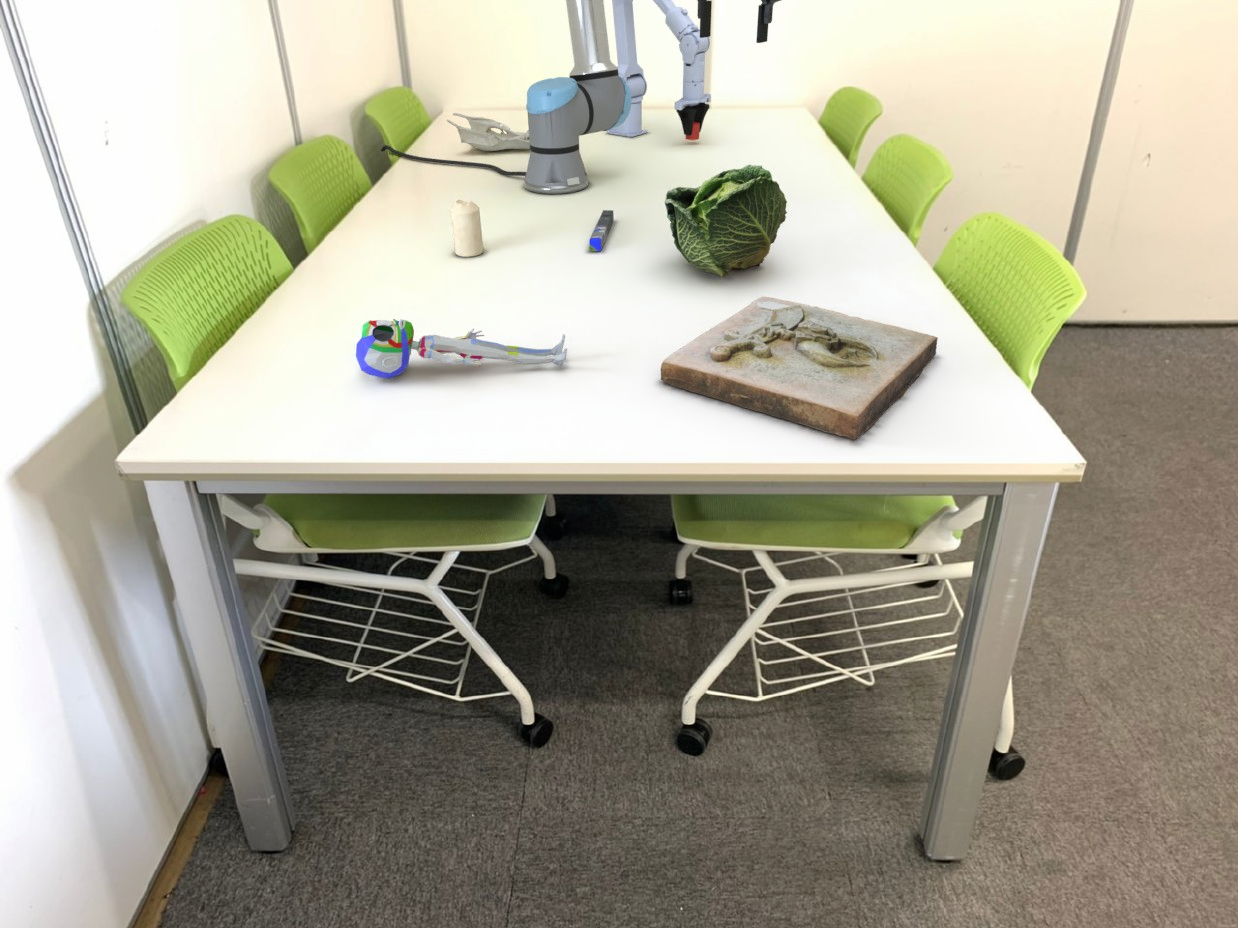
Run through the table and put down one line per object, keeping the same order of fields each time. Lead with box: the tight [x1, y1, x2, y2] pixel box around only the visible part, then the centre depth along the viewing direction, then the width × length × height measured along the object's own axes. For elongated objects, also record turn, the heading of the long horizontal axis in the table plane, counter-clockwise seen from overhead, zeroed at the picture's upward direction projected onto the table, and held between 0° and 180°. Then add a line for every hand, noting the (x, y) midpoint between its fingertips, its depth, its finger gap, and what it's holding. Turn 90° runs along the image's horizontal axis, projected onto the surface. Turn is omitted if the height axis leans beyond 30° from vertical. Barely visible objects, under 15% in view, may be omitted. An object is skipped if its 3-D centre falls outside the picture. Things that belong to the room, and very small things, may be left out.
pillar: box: [588, 209, 615, 252], centre depth 182 cm, size 2×2×20 cm
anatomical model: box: [446, 112, 530, 152], centre depth 245 cm, size 15×9×25 cm
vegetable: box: [664, 164, 788, 278], centre depth 161 cm, size 20×19×20 cm
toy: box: [353, 318, 568, 379], centre depth 130 cm, size 10×8×30 cm
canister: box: [685, 122, 700, 141], centre depth 248 cm, size 4×4×4 cm
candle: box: [449, 199, 484, 258], centre depth 172 cm, size 6×6×10 cm
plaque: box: [660, 296, 939, 441], centre depth 128 cm, size 30×7×30 cm
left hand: (732, 40), depth 178 cm, fingers open, 13 cm apart
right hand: (692, 133), depth 248 cm, fingers closed on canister, 4 cm apart
